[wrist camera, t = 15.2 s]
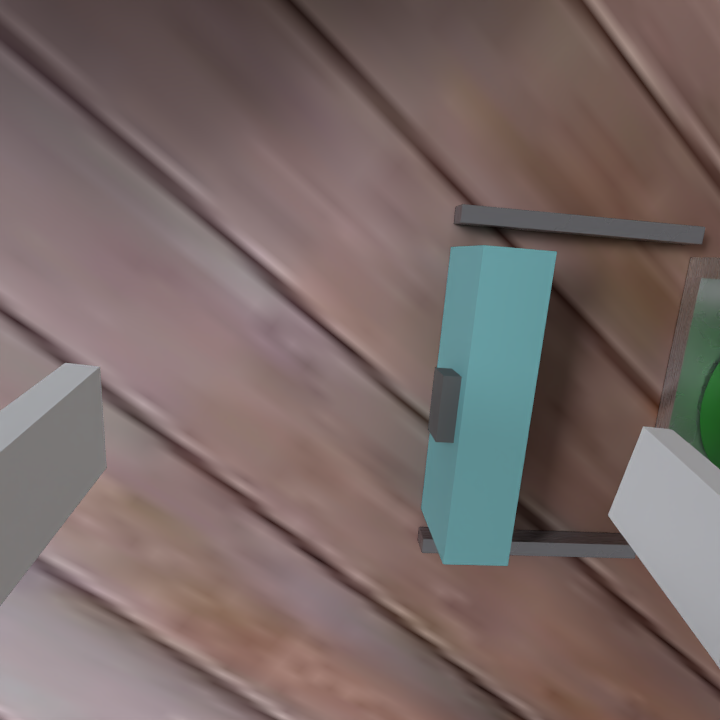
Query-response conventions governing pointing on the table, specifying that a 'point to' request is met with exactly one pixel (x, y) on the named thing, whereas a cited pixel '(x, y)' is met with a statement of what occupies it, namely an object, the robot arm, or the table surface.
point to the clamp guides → (575, 225)
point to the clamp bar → (484, 399)
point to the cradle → (693, 352)
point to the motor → (711, 418)
